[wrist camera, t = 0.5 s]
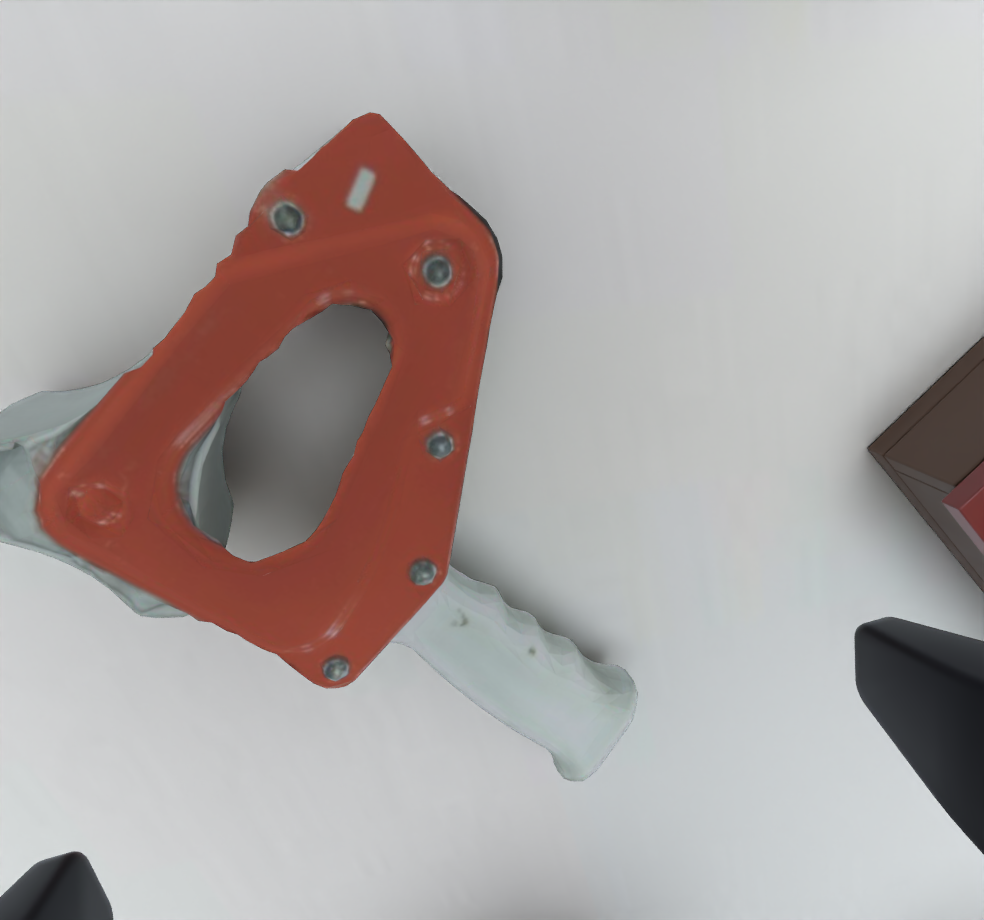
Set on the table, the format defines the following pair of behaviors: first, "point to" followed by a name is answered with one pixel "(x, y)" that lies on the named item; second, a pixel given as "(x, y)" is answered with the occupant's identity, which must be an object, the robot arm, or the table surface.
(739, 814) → the table surface
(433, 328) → the tape dispenser
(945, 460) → the hinged lid box
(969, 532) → the cover
